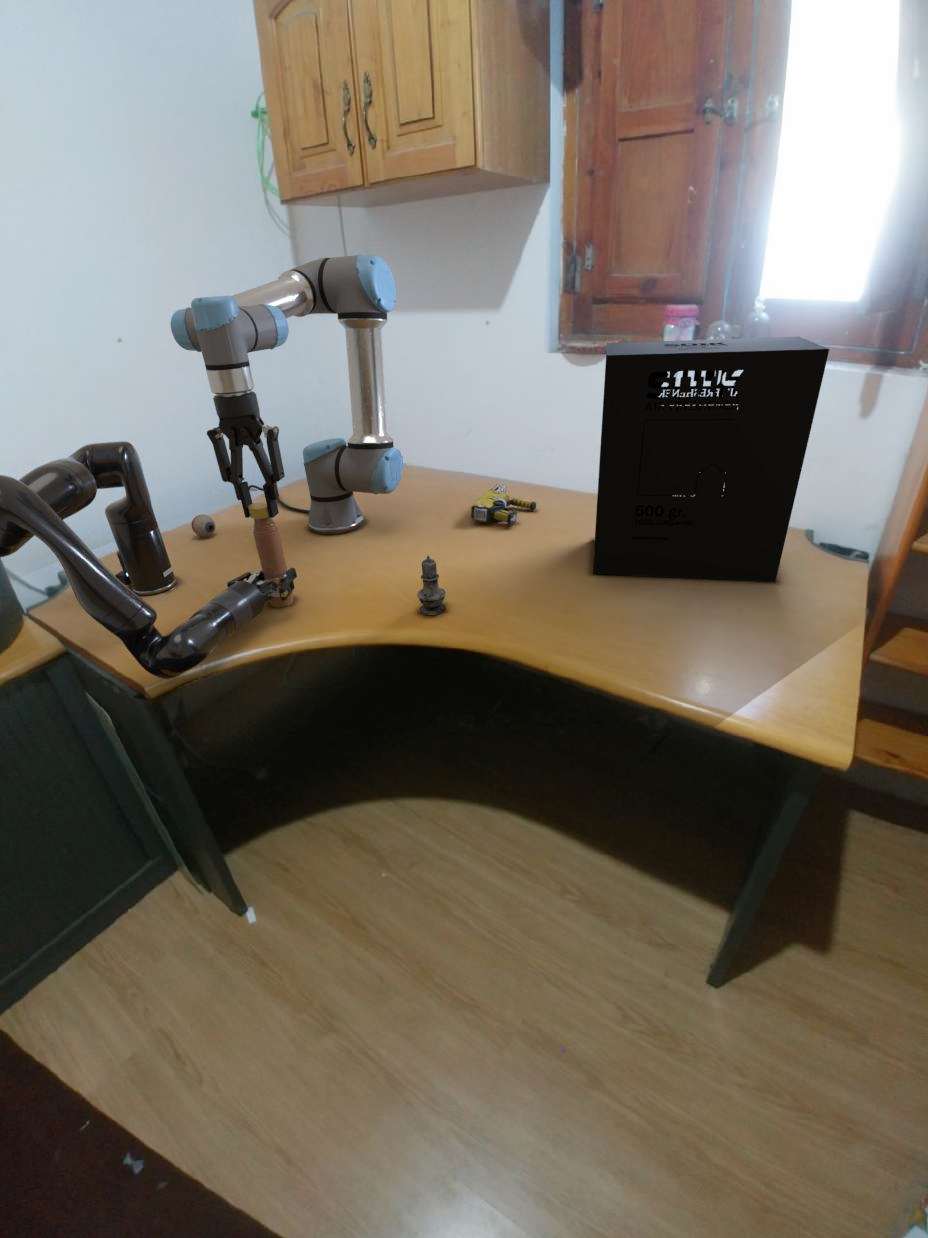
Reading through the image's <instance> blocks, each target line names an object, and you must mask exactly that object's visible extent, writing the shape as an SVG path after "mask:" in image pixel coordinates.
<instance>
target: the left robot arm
mask: <svg viewBox="0 0 928 1238" xmlns="http://www.w3.org/2000/svg"><path fill="white" fill-rule="evenodd" d="M115 488H123V489H124V491H125V495H124V496H123V497H121V498H120V499H118V500H115V501H112V502H111V503H110V504H108V505H107V506H106V507H105V508H104V515H105V517H106V520H107V522H108V525H109V528H110V531H111V533H112V536H113V539H114V541H115V544H116V547H117V549H118V550H117V552H116V556H117V559H118V561H119V563H120V564H119V565H120V567H121V569H122V570H121V571H119V572H118V573H116V574H114V573H113V572H112V571H110V570H109V569H108V568H107V566H106V565H104V564H103V563H102V561H101V560H99V558H98V557H97V555H95V553H94V552H93V551H92V550H91V549H90V548H89V547H88V545H87V544H86V543H85V542H84V541H83V540H82V539H81V538H80V537H79V536H78V534H77V533H76V532H75V531H74V530H73V529H72V528H71V527H70V526H69V525H68V524H67V523H66V522H65V520H66V519H67V518H69V517H71V516H73V515H76V514H77V513H79V512H81V511H82V510H84V509H85V508H86V507H89V506H90V505H91V504H92V502H93V501H94V500H95V499H96V496H97V493H98V490H105V489H115ZM152 504H153V503H152V499H151V494H150V491H149V489H148V485H147V481H146V477H145V473H144V469H143V466H142V462H141V458H140V456H139V453H138V451H137V450H136V447H134V445H133V444H132V443H131V442H129V441H127V440H126V441H125V440H119V441H106V442H96V443H88V444H86V445H83V446H81V447H80V448H78V449H77V450H75V451H74V452H72V453H71V454H70V455H68V456H67V457H62V458H59V459H55V460H51V461H48V462H47V463H44V464H42V465H39V466H37V467H35V468H33V469H32V470H30V471H28V473H25V474H24V475H23V476H22V477H20V478H19V479H16V478H14V477H12V476H9V475H5V474H0V558H4V557H8V556H9V557H10V556H11V555H13V554H15V553H16V552H18V551H19V550H20V549H21V548H22V547H24V546H25V545H26V544H27V543H28V542H29V541H30V540H31V539H32V538H33V537H36V538H37V539H38V540H40V541H41V542H42V543H43V544H45V545H46V546H47V548H49V549H50V551H51V552H52V553H53V554H54V555H55V557H56V558H57V560H58V562H59V563H60V565H61V567H62V569H63V571H64V573H65V575H66V577H67V580H68V582H69V585H70V587H71V589H72V592H73V594H74V596H75V599H76V600H77V602H78V603H79V605H80V606H81V608H82V609H83V611H85V613H86V614H87V615H89V616H90V618H92V619H93V620H94V621H95V622H97V623H98V624H100V625H101V626H103V627H104V629H106V630H107V631H108V632H110V633H111V634H112V635H114V636H115V637H116V638H118V639H119V640H120V641H121V642H122V644H123V645H124V647H125V648H126V649H127V651H128V652H129V653H130V654H131V656H132V657H133V658H134V659H135V660H136V662H137V663H138V664H139V666H141V667H142V669H144V670H145V671H146V672H147V673H149V674H150V675H152V676H154V677H156V678H159V679H162V680H172V679H175V678H177V677H179V676H181V675H183V674H184V673H186V672H188V671H190V670H192V669H194V668H195V667H197V666H198V665H200V664H201V663H202V662H203V661H205V659H206V658H207V657H209V656H210V655H211V653H213V651H214V650H215V649H216V648H217V647H218V646H220V644H222V643H223V642H224V641H226V640H227V639H228V638H229V637H231V635H233V634H235V633H236V632H238V631H239V630H241V629H242V628H244V627H245V626H246V625H248V623H250V621H252V620H253V619H255V617H257V616H258V615H260V614H261V613H262V612H263V610H264V608H265V605H266V603H267V602H270V600H271V599H273V598H274V597H281V600H282V601H284V600H287V599H288V597H289V596H290V594H291V593H292V594H293V592H294V591H295V588H296V587H295V582H294V580H296V579H297V577H298V574H297V570H296V568H295V567H290V568H289V569H287V571H286V572H285V573H284V574H283V575H281V576H279V577H277V578H276V577H271V578H269V579H267V580H264V576H263V572H262V569H261V570H260V571H255V572H254V573H252V572H251V571H248V572H245V573H243V574H241V575H239V576H237V577H235V578H233V579H230V580H229V581H227V582H226V585H227V588H226V589H224V590H223V591H222V592H220V593H219V594H217V595H216V596H215V597H213V598H212V599H211V600H210V601H209V602H208V603H207V604H206V605H204V606H202V607H201V608H200V609H199V610H198V611H196V612H195V613H193V614H192V615H191V616H190V617H189V618H188V619H187V620H186V621H185V622H183V623H182V624H180V625H179V626H177V627H176V628H174V629H172V630H170V632H167V633H166V634H164V635H163V634H161V632H160V631H159V629H158V628H157V627H156V626H155V625H154V624H155V623H156V621H157V618H158V614H157V611H156V610H155V608H153V607H152V606H151V604H149V603H148V602H146V601H145V600H144V599H143V598H142V597H141V596H152V595H157V594H160V593H164V592H167V591H168V590H170V589H172V588H173V587H175V586H176V585H177V583H178V582H177V581H178V580H177V577H176V576H175V573H174V569H173V567H172V563H171V561H170V558H169V555H168V551H167V548H166V545H165V543H164V539H163V536H162V533H161V529H160V527H159V524H158V522H157V517H156V514H155V512H154V508H153V505H152ZM281 580H282V585H279V582H280V581H281ZM272 582H273V585H272ZM273 586H274V589H273Z"/></svg>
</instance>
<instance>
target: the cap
mask: <svg viewBox="0 0 928 1238" xmlns="http://www.w3.org/2000/svg"><path fill="white" fill-rule="evenodd" d="M252 503H253V504H250V505H249V506H248V510H249V514H250V517H249V518H251V519H253V520H254V519H263V518H267V517H270V516H269V512H268V507H267V503H266V500H265V501H263V500H262V501H256V502H252Z"/></svg>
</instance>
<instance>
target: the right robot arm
mask: <svg viewBox="0 0 928 1238" xmlns="http://www.w3.org/2000/svg"><path fill="white" fill-rule="evenodd" d="M396 288H397V287H396V283H395V279H394V275H393V273H392V270H390V267H389V265H388V264H387V262H386V261H385V260H384V259H383V258H382V257H380V256H379V255H376V254H355V255H354V254H353V255H343V256H333V257H321V258H317V259H314V260H312V261H309V262H306V263H303V264H301V265H298V266H296V267H294V268H292V269H288V270H286V271H283V272H282V273H281V274H279V277H278V278H277V279H276V280H273V281H270V282H268V283H264V284H262V285H259V286H256V287H253V288H250V289H248V290H247V289H246V290H245V291H241V292H239V293H236V294H233V295H217V296H216V295H214V296H201V297H194V298H193V299H192V300H191V302H190V307H189V306H188V307H185V308H180V309H177V310H175V312H173V314H172V316H171V318H170V332H171V333H172V336H173V339H174V340H175V342H176V343H177V345H178V346H179V347H180V348H182V349H184V350H185V351H191V352H193V351H194V352H198V353H201V355H202V359H203V362H204V366H205V371H206V376H207V380H208V384H209V388H210V392H211V393H212V394H214V396H213V398H212V400H213V404H214V408H215V412H216V415H217V417H218V419H219V420H218V426H217V427H213V428H210V429H209V430H207V431H206V435H207V437H208V439H209V440H210V442H211V444H212V448H213V451H214V455H215V459H216V462H217V466H218V469H219V474H220V477H221V480H222V481H223V482H224V483H229V484H232V486H233V489H234V493H235V496H236V499H237V501H240V502H241V506H242V509H243V515H244V518H246V519H247V518H248V519H249V518H251V517H250V514H249V510H248V506H249V505H250V504H253V503H254V502H253V500H252V499H253V498H252V495H251V491H250V489H251V488H254V489H257V490H258V491H260V492H261V491H262V492H263V494H264V497H265V499H264V500H265V501H266V503H267V507H268V512H269V516H270V518H273V519H274V518H275V517H276V516H277V515H278V514H279V513H280V512H279V511H280V510H279V507H278V503H280V504H281V506H283V507H284V508H286V509H288V510H290V511H291V510H292V511H295V512H300V513H308V521H307V524H308V528H309V529H308V530H310V531H311V532H312V533H314V534H317V535H323V536H324V535H325V536H327V535H329V536H331V535H339V534H340V535H341V534H345V533H350V532H353V531H355V530H357V529H359V528H361V527H362V526H363V525H364V523H365V519H364V514H363V512H362V510H361V508H360V505H359V504H358V501H357V500H356V498H355V495H354V493H363V494H365V493H366V494H372V495H388V494H391V493H392V492H394V491H395V490H396V489H397V487H398V486H399V484H400V482H401V479H402V476H403V472H404V457H403V455H402V452H401V451H400V449H398V448H396V447H394V446H395V445H394V439H393V437H392V436H390V435H389V433H388V430H387V429H388V428H387V425H388V424H387V407H386V390H385V371H384V369H385V367H384V350H383V349H384V348H383V334H382V331H383V330H382V329H383V328H384V326H385V325H386V324H387V323H388V313H390V312H392V311H393V310H394V308H395V306H396V301H397V290H396ZM315 314H317V315H319V314H332V315H333V314H335V315H337V322H338V323H339V324H340V325H341V326H342V327H343V328H344V331H345V347H346V358H347V373H348V386H349V399H350V412H351V413H350V414H351V426H352V427H351V428H352V434H351V436H349V438H348V439H347V441H346V439H345V438H342V437H335V438H328V439H323V440H320V441H316V442H313V443H309V444H308V445H306V446H305V447H304V448H303V450H302V457H303V459H302V460H303V467H304V472H305V477H306V481H307V486H308V492H309V498H310V507H309V509H302V508H297V507H293V506H291V505H288V504H286V503H285V502H283V501H282V500H281V499H280V494H279V493H280V492H279V487H278V484H277V482H281V480H283V479H284V478H285V476H286V475H285V469H284V464H283V460H282V459H283V458H282V453H281V449H280V443H279V433H280V429H279V426H277V425H274V426H270V425H268V424H265V422H264V420H263V419H262V417H261V412H260V411H261V410H260V405H259V401H258V396H257V394H256V392H255V391H253V390H254V389H255V383H254V378H253V374H252V368H251V364H250V363H251V362H250V359H249V354H250V353H254V352H259V351H265V350H266V351H267V350H274V349H275V348H278V347H281V346H283V345H284V344H285V343H286V342H287V340H288V337H289V332H290V331H289V330H290V329H289V324H288V320H287V319H288V318H291V317H293V316H294V317H296V318H302V317H305V316H308V315H315ZM262 433H264V434H263V435H264V438H265V439H266V447H267V452H268V454H267V453H266V450H265V448H264V443H263V439H262V438H261V436H262ZM224 436H225V437H226V438H227V439H228V449H229V451H230V455H229V452H228V449H227V444H226V441H225V438H224ZM244 446H247V447H248V449H249V452H251V453H252V455H253V457H254V460H255V461H256V464H257V466H258V469H259V470H260V473H261V475H262V477H263V479H264V482H265V483H264V484H262V487H260V486H258V485H255V484H251V485H249V483H248V482H249V481H245V479H246V478H245V477H244V461H243V448H244ZM268 457H269V458H268Z"/></svg>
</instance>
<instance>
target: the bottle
mask: <svg viewBox="0 0 928 1238" xmlns="http://www.w3.org/2000/svg"><path fill="white" fill-rule="evenodd" d="M252 534H253V538H254V543H255V546H256V551H257V555H258V558H259V563H260V567H261V570H262V572H263V576H264V580H267V579H269V578H271V577H276V578H277V577H279V576H281V575H283V574H284V573H285V572H286V571H288V566H287V563H286V558H285V554H284V548H283V545H282V540H281V534H280V531H279V528H278V525H277V523H276V522H275V520H274V518H270V517H267V518H263V519H253V526H252ZM272 585H273V582H272ZM279 585H282V580H281V581H280V582H279ZM273 589H274V586H273ZM294 601H295V599H294V594H293V592H292V593H291V594H290V596H289V597H288V599H287V600H284V601H282V600H281V597H274V598H273V599H271V600H269V604H270V606H271V607H272V608H284V607H288V606H290V605H292V604H293V603H294Z"/></svg>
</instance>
